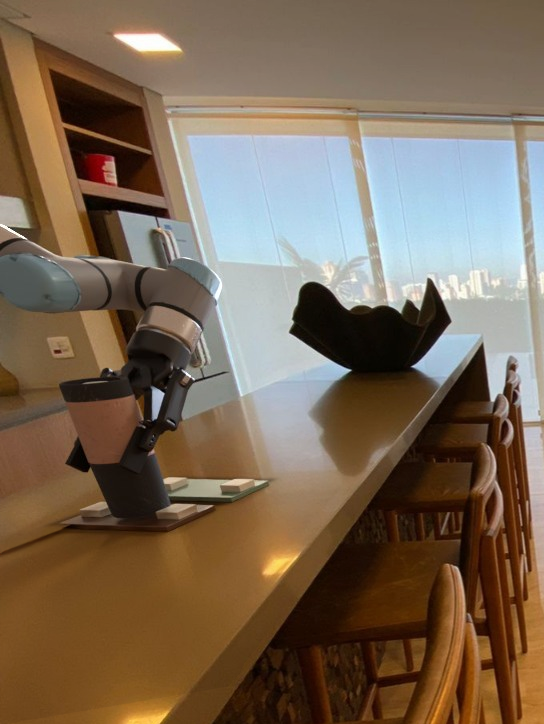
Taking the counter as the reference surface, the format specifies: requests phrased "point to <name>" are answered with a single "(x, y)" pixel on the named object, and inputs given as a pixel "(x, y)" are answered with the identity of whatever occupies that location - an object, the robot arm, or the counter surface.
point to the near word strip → (137, 518)
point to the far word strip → (210, 489)
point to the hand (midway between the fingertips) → (102, 468)
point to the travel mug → (114, 444)
